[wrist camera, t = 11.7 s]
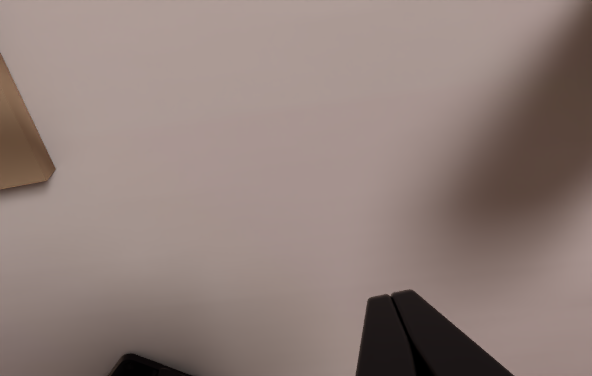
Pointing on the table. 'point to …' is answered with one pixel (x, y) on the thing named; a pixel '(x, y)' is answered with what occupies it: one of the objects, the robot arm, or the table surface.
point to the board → (19, 139)
